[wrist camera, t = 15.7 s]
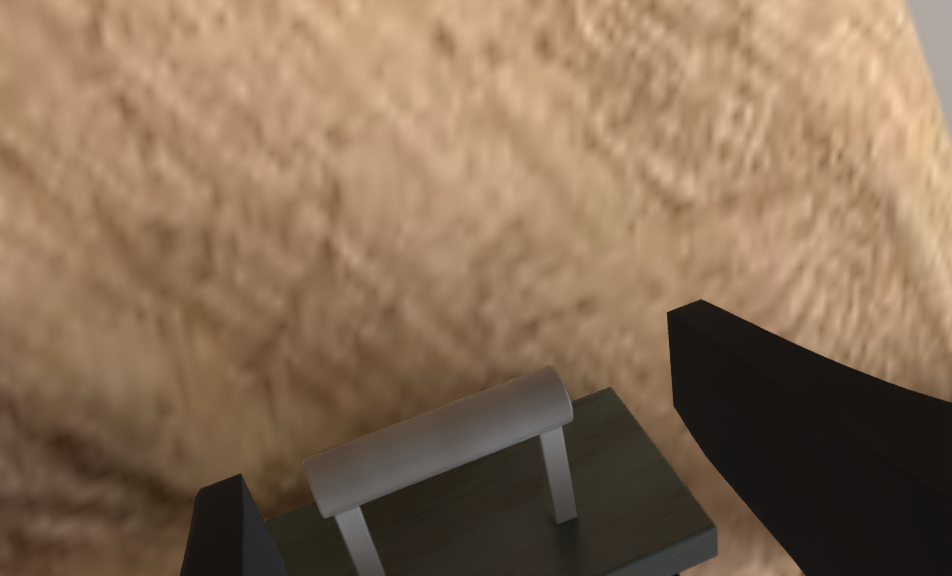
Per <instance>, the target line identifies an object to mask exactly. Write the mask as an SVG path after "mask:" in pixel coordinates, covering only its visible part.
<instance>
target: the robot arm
mask: <svg viewBox="0 0 952 576" xmlns="http://www.w3.org/2000/svg"><path fill="white" fill-rule="evenodd" d="M667 321H668V335H669V349H670V363H671V377H672V391H673V405H674V407H675V409H676V411H677V412H678V414H679V415H680V417H681V419H682V420H683V422H684V423H685V425H686V427H687V428H688V430H689V431H690V433H691V435H692V436H693V438H694V439H695V441H696V442H697V444H698V445H699V447H700V448H701V450H702V451H703V453H704V454H705V456H706V457H707V458H708V459H709V461H710V462H711V463H712V464H713V466H714V467H715V468H716V469H717V470H718V472H719V473H720V474H721V475H722V476H723V478H724V479H725V480H726V481H727V482H728V483H729V485H730V486H731V487H732V488H733V489H734V491H735V492H736V493H737V494H738V495H739V497H740V498H741V499H742V500H743V501H744V502H745V504H746V505H747V506H748V507H749V508H750V509H751V511H752V512H753V513H754V514H755V515H756V516H757V518H758V519H759V520H760V521H761V522H762V523H763V525H764V526H765V527H766V528H767V529H768V530H769V532H770V533H771V534H772V535H773V536H774V538H775V539H776V540H777V541H778V542H779V543H780V545H781V546H782V547H783V548H784V549H785V550H786V552H787V553H788V554H789V555H790V556H791V557H792V559H793V560H794V561H795V562H796V564H797V565H798V566H799V567H800V569H801V570H802V571H803V573H804V574H805V575H806V576H952V403H950V402H947V401H944V400H940V399H937V398H934V397H931V396H928V395H924V394H921V393H918V392H915V391H912V390H909V389H906V388H903V387H900V386H897V385H894V384H891V383H889V382H886V381H883V380H881V379H878V378H876V377H873V376H870V375H868V374H865V373H863V372H860V371H858V370H855V369H852V368H850V367H847V366H845V365H843V364H840V363H838V362H835V361H833V360H831V359H828V358H826V357H824V356H821V355H819V354H817V353H814V352H812V351H810V350H808V349H805V348H803V347H801V346H799V345H797V344H794V343H792V342H790V341H788V340H786V339H784V338H781V337H779V336H777V335H775V334H773V333H771V332H769V331H767V330H765V329H763V328H760V327H758V326H756V325H754V324H752V323H750V322H748V321H746V320H744V319H742V318H740V317H738V316H736V315H734V314H731V313H729V312H727V311H725V310H723V309H721V308H719V307H717V306H715V305H713V304H710V303H708V302H706V301H704V300H702V299H700V300H698V301H695V302H693V303H690V304H687V305H685V306H682V307H679V308H677V309H674V310H671V311H669V312H667ZM180 576H288V575H287V572H286V568H285V564H284V561H283V559H282V557H281V555H280V553H279V551H278V549H277V546H276V544H275V542H274V540H273V538H272V536H271V534H270V532H269V530H268V528H267V526H266V524H265V522H264V520H263V518H262V516H261V514H260V512H259V509H258V507H257V505H256V503H255V501H254V499H253V497H252V495H251V493H250V491H249V489H248V487H247V485H246V483H245V481H244V479H243V477H242V475H241V474H238V475H235V476H233V477H230V478H228V479H225V480H222V481H220V482H217V483H214V484H212V485H209V486H206V487H204V488H201V489H200V490H199V491H198V493H197V495H196V497H195V501H194V508H193V514H192V520H191V526H190V531H189V536H188V541H187V546H186V550H185V554H184V559H183V563H182V567H181V572H180Z"/></svg>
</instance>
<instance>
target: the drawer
mask: <svg viewBox="0 0 952 576" xmlns="http://www.w3.org/2000/svg"><path fill="white" fill-rule="evenodd" d="M303 464H304V468H305V472H306V475H307V479H308V482H309V485H310V488H311V491H312V493H313V496H314V499H315V502H313V503H311V504H308V505H306V506H303V507H301V508H298V509H295V510H293V511H290V512H288V513H285V514H283V515H280V516H277V517H275V518H272V519H270V520H267V521H265V524H266V526H267V528H268V530H269V532H270V534H271V536H272V538H273V540H274V542H275V544H276V546H277V549H278V551H279V553H280V555H281V557H282V559H283V561H284V564H285V568H286V572H287V575H288V576H680V575H679V573H680V572H682V571H684V570H686V569H689V568H691V567H693V566H696V565H698V564H700V563H703V562H705V561H707V560H709V559H712V558H714V557H716V556H717V555H718V547H717V526H716V525H715V523H714V522H713V521H712V519H711V518H710V517H709V515H708V514H707V513H706V511H705V510H704V509H703V508H702V506H701V505H700V504H699V502H698V501H697V500H696V498H695V497H694V496H693V494H692V493H691V492H690V490H689V489H688V488H687V486H686V485H685V484H684V482H683V481H682V480H681V478H680V477H679V476H678V474H677V473H676V472H675V471H674V469H673V468H672V467H671V465H670V464H669V463H668V461H667V460H666V459H665V457H664V456H663V455H662V453H661V452H660V451H659V449H658V448H657V447H656V445H655V444H654V443H653V441H652V440H651V439H650V437H649V436H648V435H647V433H646V432H645V431H644V430H643V428H642V427H641V426H640V424H639V423H638V422H637V420H636V419H635V418H634V416H633V415H632V414H631V412H630V411H629V410H628V408H627V407H626V406H625V404H624V403H623V402H622V400H621V399H620V398H619V396H618V395H617V394H616V393H615V391H614V390H613V389H612V388H611V387H609V388H606V389H603V390H601V391H598V392H596V393H593V394H591V395H588V396H585V397H583V398H580V399H578V400H575V401H573V402H571V400H570V397H569V394H568V392H567V389H566V387H565V384H564V382H563V380H562V378H561V377H560V375H559V373H558V372H557V371H556V369H555V368H554V367H553V366H550V365H548V366H545V367H543V368H540V369H538V370H535V371H532V372H530V373H527V374H524V375H522V376H519V377H516V378H514V379H511V380H509V381H506V382H503V383H501V384H498V385H495V386H493V387H490V388H488V389H485V390H482V391H480V392H477V393H474V394H472V395H469V396H466V397H464V398H461V399H459V400H456V401H453V402H451V403H448V404H445V405H443V406H440V407H438V408H435V409H432V410H430V411H427V412H424V413H422V414H419V415H416V416H414V417H411V418H409V419H406V420H403V421H401V422H398V423H395V424H393V425H390V426H388V427H385V428H382V429H380V430H377V431H374V432H372V433H369V434H366V435H364V436H361V437H359V438H356V439H353V440H351V441H348V442H345V443H343V444H340V445H338V446H335V447H332V448H330V449H327V450H324V451H322V452H319V453H317V454H314V455H311V456H309V457H306V458H305V459H304V460H303Z"/></svg>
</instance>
